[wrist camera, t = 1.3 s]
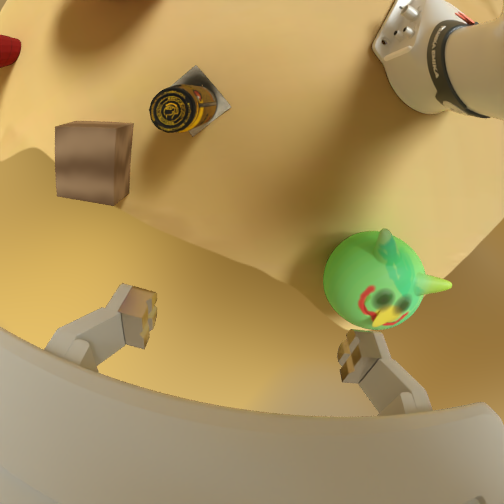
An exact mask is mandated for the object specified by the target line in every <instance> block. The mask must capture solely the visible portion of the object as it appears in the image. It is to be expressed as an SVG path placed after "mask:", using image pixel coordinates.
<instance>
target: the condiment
mask: <svg viewBox="0 0 504 504" xmlns="http://www.w3.org/2000/svg"><path fill="white" fill-rule="evenodd" d="M202 85H203V86H202ZM229 108H231V106H230V104H229V103H228V102H227V101H226V99H225V98H224V97H223V96H222V95H221V93H220V92H219V91H218V90H217V89H216V87H215V86H214V85H213V84H212V83H211V82H210V81H209V79H208V78H207V77H206V76H205V75H204V74H203V72H202V71H201V70H200V69H199V68H198V67H197V66H196V65H195V66H194V67H193V68H192V69H191V70H189V71H188V72H187V73H186V74H185V75H183V76H182V77H181V78H180V79H179V80H178V81H176V82H175V83H174V84H173V85H172V86H171V87H169V88H166V89H164V90H162V91H160V92H159V93H158V94H157V95H156V96H155V97H154V98H153V100H152V102H151V106H150V109H149V111H150V116H151V120H152V122H153V123H154V125H155V126H156V127H157V128H158V129H160V130H163V131H165V132H168V133H173V132H177V133H182V132H186V131H189V133H190V134H191V135H192V137H193V136H195V135H196V134H197V133H198V132H200V131H201V130H202V129H203V128H205V127H206V126H207V125H208V124H210V123H211V122H212V121H214V120H215V119H216V118H217V117H219V116H220V115H221V114H223V113H224V112H225V111H227V110H228V109H229Z"/></svg>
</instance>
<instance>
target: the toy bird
mask: <svg viewBox="0 0 504 504" xmlns="http://www.w3.org/2000/svg"><path fill="white" fill-rule="evenodd" d="M323 285H324V291H325V295H326V297H327V299H328V301H329V303H330V305H331V306H332V307H333V309H334V310H335V311H336V312H337V313H338V314H339V315H340V316H341V317H343V318H344V319H345V320H347V321H348V322H350V323H352V324H354V325H356V326H359V327H362V328H366V329H372V330H382V329H388V328H391V327H394V326H397V325H399V324H400V323H402V322H404V321H405V320H406V319H408V318H409V317H410V316H411V315H412V314H413V313H414V312H415V310H416V309H417V308H418V306H419V304H420V303H421V301H422V298H423V295H424V294H430V293H436V292H440V291H445V290H448V289H450V288H451V287H452V284H451V282H449V281H447V280H444V279H441V278H438V277H434V276H430V275H426V274H425V271H424V267H423V265H422V262H421V260H420V259H419V257H418V256H417V254H416V253H415V252H414V250H413V249H412V248H411V247H410V246H408V245H407V244H406V243H405V242H403V241H402V240H400V239H399V238H397V237H395V236H393V235H392V234H391V232H390V231H389V230H388V229H382V230H381V231H380V232H378V231H365V232H360V233H357V234H354V235H352V236H350V237H348V238H347V239H345V240H344V241H343V242H341V243H340V244H339V245H338V246H337V247H336V248H335V250H334V251H333V252H332V254H331V255H330V257H329V259H328V261H327V264H326V266H325V270H324V276H323Z"/></svg>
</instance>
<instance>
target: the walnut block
mask: <svg viewBox="0 0 504 504" xmlns="http://www.w3.org/2000/svg"><path fill="white" fill-rule="evenodd" d="M133 125H134V123H119V122H97V121H74V122H70V123H67V124H63V125H60V126H56V127H55V172H56V188H57V196H58V197H65V198H70V199H76V200H83V201H88V202H94V203H99V204H105V205H111V206H114V205H116V204H117V203H118V202H119V201H120V200H121V199H123V198H124V197H125V196H126V195H127V194H129V182H130V162H131V147H132V135H133Z"/></svg>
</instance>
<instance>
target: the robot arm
mask: <svg viewBox="0 0 504 504" xmlns="http://www.w3.org/2000/svg"><path fill="white" fill-rule="evenodd" d="M382 40H383V41H384V42H385V45H384V44H382ZM372 49H373V51H374V53H375V54H376V56H377V57H378V58H379V60H380V61H381V62H382V63H383V65H384V68H385V70H386V74H387V77H388V79H389V82H390V84H391V86H392V88H393V89H394V91H395V92H396V94H397V95H398V96H399V98H400V99H401V100H402V101H403V102H404V103H406V104H407V105H408V106H409V107H411V108H412V109H414V110H416V111H418V112H421V113H425V114H437V113H441V112H443V111H449V110H451V111H453V112H456V113H459V114H463V115H466V116H469V115H470V116H475V117H480V118H490V117H492V118H496V119H500V120H503V121H504V0H503V9H502V13H501V15H500V16H499V17H498V18H496V19H495V20H492V21H489V22H485V23H481V24H479V23H477V22H474V21H472V20H471V19H470V18H468V17H467V16H466V15H465V14H464V13H462V12H461V11H460V10H459V9H457V8H456V7H454V6H453V5H451V4H450V3H448V2H446V1H444V0H395V2H394V4H393V6H392V8H391V10H390V12H389V14H388V15H387V17H386V19H385V21H384V23H383V25H382V27H381V29H380V30H379V32H378V34H377V36H376V38H375V40H374V42H373V44H372ZM156 301H157V293H156V292H153V291H149V290H146V289H142V288H139V287H135V286H131V285H127V284H124V283H122V284H121V285H120V286H119V287H118V289H117V290H116V292H115V293H114V295H113V296H112V298H111V300H110V301H109V303H108V304H107V306H106V308H100V309H98V310H96V311H94V312H92V313H89V314H87V315H85V316H83V317H81V318H79V319H77V320H75V321H73V322H71V323H69V324H67V325H65V326H63V327H61V328H59V329H57V331H56V332H55V334H54V335H53V337H52V338H51V340H50V341H49V343H48V344H47V346H46V348H45V349H44V350H43V349H41V348H39V347H37V346H35V345H33V344H30V343H29V342H27V341H25V340H23V339H21V338H19V337H17V336H16V335H14V334H12V333H10V332H8V331H7V330H5V329H3V328H1V327H0V504H504V425H503V423H502V420H501V419H500V417H499V416H498V415H497V414H496V413H495V412H494V411H493V410H492V409H491V408H490V407H489V406H488V405H487V404H486V403H484V402H478V403H473V404H469V405H464V406H458V407H453V408H447V409H441V410H434V411H433V410H432V407H431V404H430V401H429V398H428V395H427V392H426V390H425V389H424V388H423V387H422V386H421V385H420V384H419V383H418V382H417V381H416V380H415V379H414V378H413V377H412V376H411V375H409V373H408V372H407V371H406V370H405V369H403V368H402V367H401V366H400V365H399V364H398V363H397V362H396V361H395V360H392V359H391V356H390V353H389V350H388V347H387V345H386V342H385V339H384V337H383V334H382V333H381V332H373V331H371V332H370V331H363V330H355V329H351V330H350V331H349V332H348V333H347V335H346V336H347V339H346V340H344V341H343V342H342V343H341V344H340V346H339V349H338V356H337V357H338V362H339V363H340V365H341V366H342V368H341V369H340V374H341V379H342V382H345V383H358V384H359V386H360V387H361V388H362V390H363V391H364V393H365V394H366V395H367V397H368V398H369V400H370V401H371V402H372V404H373V405H374V407H375V408H376V409H377V410H378V412H379V414H378V415H377V416H362V417H327V416H302V415H289V414H277V413H267V412H259V411H251V410H244V409H237V408H231V407H224V406H219V405H213V404H208V403H203V402H198V401H193V400H189V399H185V398H180V397H176V396H172V395H168V394H164V393H160V392H157V391H153V390H149V389H146V388H142V387H139V386H136V385H133V384H129V383H126V382H123V381H120V380H117V379H114V378H111V377H108V376H105V375H103V374H100V373H98V369H97V367H96V366H97V365H99V364H100V363H102V362H103V361H104V360H105V359H107V358H108V357H110V356H111V355H112V354H114V353H115V352H117V351H118V350H119V349H121V348H122V347H124V346H125V344H127V345H130V346H134V347H138V348H142V349H145V347H146V344H147V342H148V339H149V331H151V330H152V329H153V327H154V324H155V321H156V317H157V307H156V306H155V303H156Z"/></svg>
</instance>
